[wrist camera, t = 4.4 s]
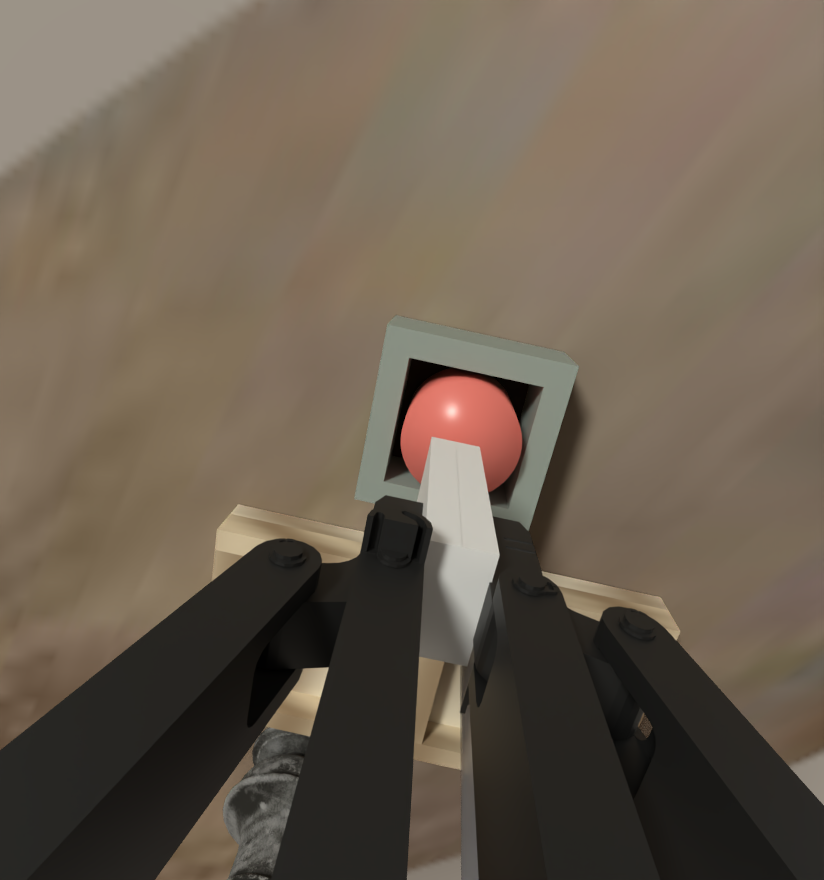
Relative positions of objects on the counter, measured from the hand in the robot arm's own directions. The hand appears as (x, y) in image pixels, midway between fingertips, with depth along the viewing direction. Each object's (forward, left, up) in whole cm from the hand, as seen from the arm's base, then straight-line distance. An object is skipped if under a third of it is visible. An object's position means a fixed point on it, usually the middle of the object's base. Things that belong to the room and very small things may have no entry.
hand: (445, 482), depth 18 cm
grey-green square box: (0, 0, -7) cm, 7 cm away
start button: (0, 0, -6) cm, 6 cm away
